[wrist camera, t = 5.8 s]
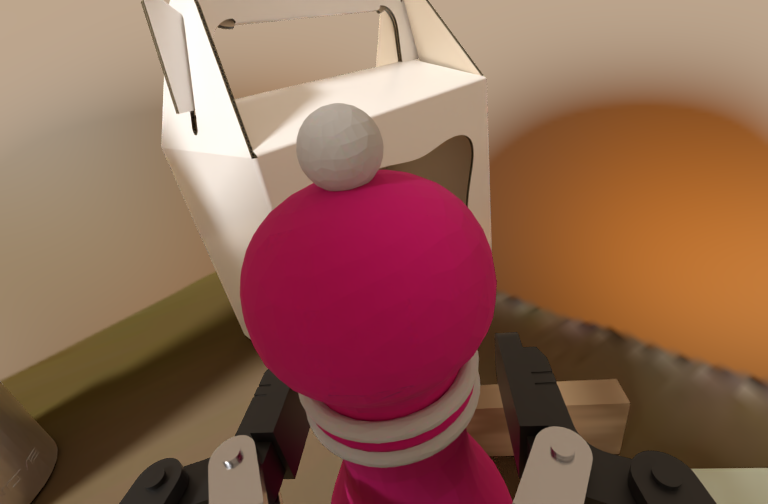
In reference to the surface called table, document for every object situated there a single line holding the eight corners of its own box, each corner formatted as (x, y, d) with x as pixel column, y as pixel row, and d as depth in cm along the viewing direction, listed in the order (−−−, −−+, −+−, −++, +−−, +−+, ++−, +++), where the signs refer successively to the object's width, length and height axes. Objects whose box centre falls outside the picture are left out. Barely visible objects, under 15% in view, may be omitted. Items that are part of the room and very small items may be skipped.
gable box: (398, 234, 48) (354, -38, 34) (494, 259, 39) (484, -92, 26) (241, 337, 34) (72, -40, 21) (333, 408, 26) (142, -155, 13)
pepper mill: (372, 736, 13) (8, 210, 4) (343, 519, 19) (182, 119, 10) (558, 655, 14) (650, 70, 5) (473, 473, 20) (438, 68, 11)
